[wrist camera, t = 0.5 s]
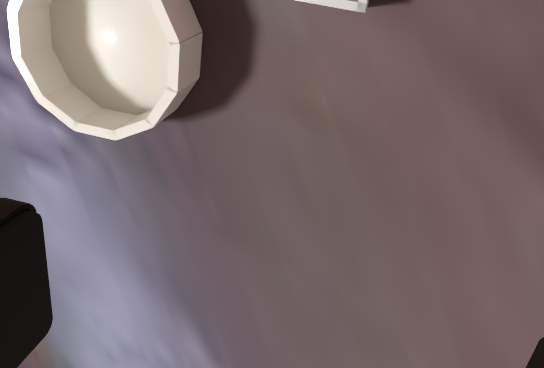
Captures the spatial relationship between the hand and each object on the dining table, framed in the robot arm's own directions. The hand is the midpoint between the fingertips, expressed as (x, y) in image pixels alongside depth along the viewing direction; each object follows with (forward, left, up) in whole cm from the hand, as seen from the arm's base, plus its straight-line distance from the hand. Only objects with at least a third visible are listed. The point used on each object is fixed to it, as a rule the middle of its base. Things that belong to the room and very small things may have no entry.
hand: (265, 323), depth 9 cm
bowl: (+3, -17, -26) cm, 31 cm away
